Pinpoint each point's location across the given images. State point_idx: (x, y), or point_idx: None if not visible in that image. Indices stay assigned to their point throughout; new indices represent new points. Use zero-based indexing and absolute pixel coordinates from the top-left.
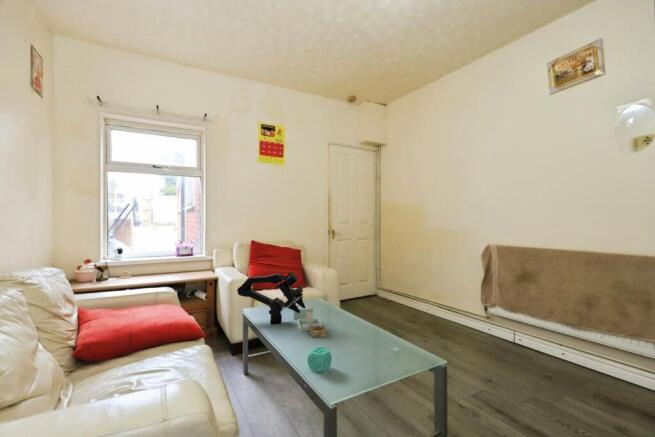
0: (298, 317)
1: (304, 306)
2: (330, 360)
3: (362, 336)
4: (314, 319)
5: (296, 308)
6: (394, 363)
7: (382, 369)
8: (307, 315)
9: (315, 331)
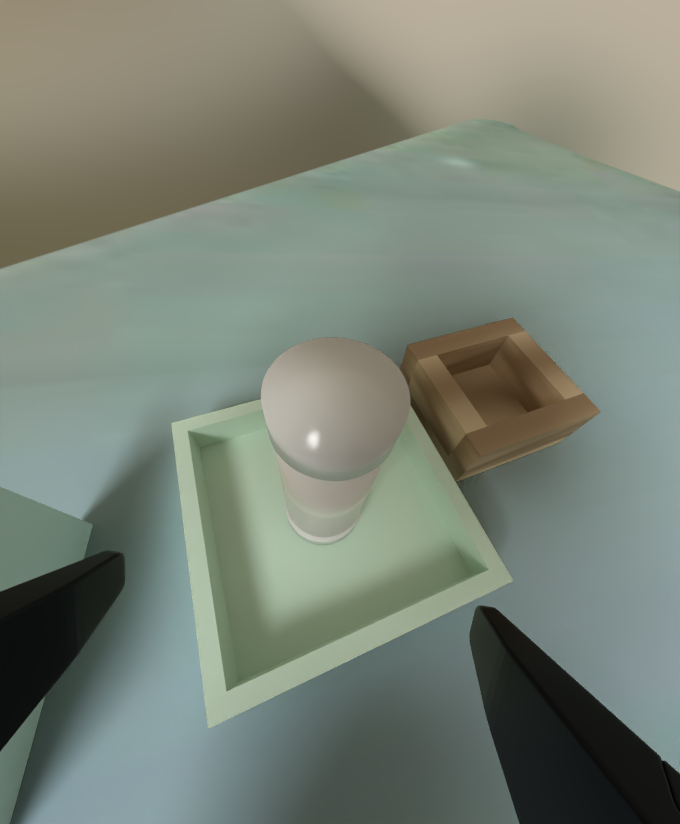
0: (5, 755)
1: (94, 575)
2: None
3: (384, 223)
4: (194, 462)
5: (644, 773)
6: (570, 174)
7: (636, 197)
8: (374, 479)
9: (575, 387)
